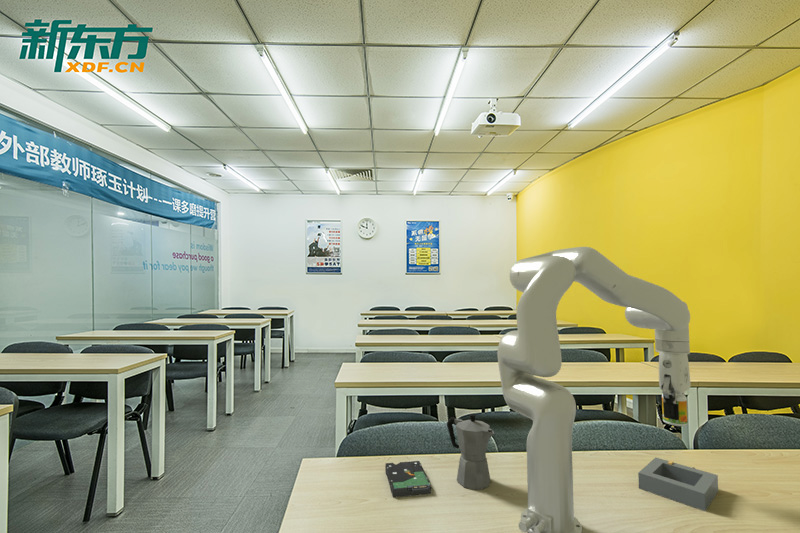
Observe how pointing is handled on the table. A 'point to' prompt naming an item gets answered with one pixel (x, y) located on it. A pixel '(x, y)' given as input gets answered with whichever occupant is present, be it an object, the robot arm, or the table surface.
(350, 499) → the table surface
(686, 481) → the gray rectangular open box
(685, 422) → the supplement bottle
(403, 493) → the disk drive
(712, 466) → the table surface
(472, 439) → the coffeepot
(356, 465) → the table surface
